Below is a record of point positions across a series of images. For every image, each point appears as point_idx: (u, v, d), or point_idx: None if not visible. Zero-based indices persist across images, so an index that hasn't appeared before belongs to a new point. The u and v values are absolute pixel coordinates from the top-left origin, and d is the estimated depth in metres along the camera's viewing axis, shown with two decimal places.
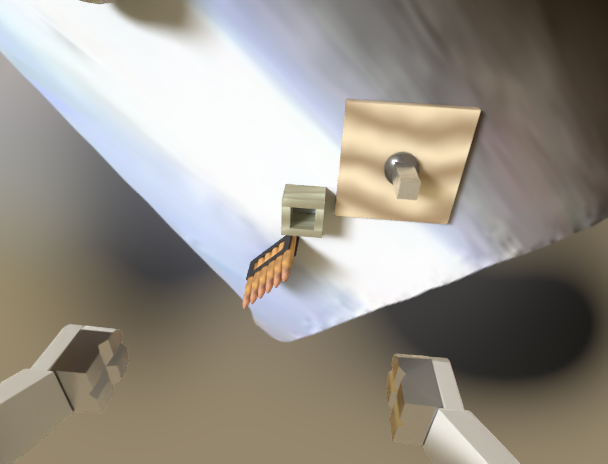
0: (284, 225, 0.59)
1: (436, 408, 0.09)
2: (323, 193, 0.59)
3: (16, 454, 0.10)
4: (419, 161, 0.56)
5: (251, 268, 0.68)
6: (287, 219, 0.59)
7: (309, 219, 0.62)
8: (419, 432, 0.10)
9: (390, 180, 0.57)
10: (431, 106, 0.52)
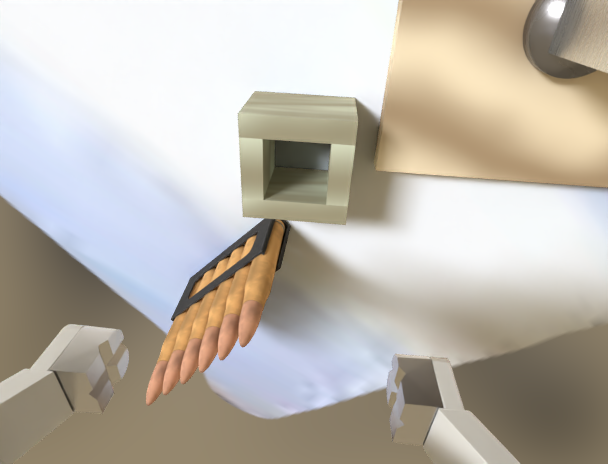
0: (249, 192, 0.23)
1: (436, 408, 0.09)
2: (351, 107, 0.22)
3: (16, 454, 0.10)
4: None
5: (186, 293, 0.31)
6: (256, 173, 0.22)
7: (313, 180, 0.26)
8: (419, 432, 0.10)
9: (542, 61, 0.20)
10: None
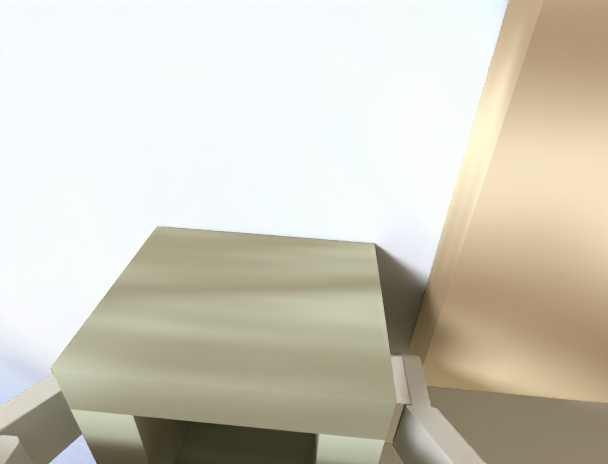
0: None
1: (403, 405, 0.09)
2: (369, 296, 0.09)
3: (48, 457, 0.10)
4: None
5: None
6: None
7: None
8: None
9: None
10: None
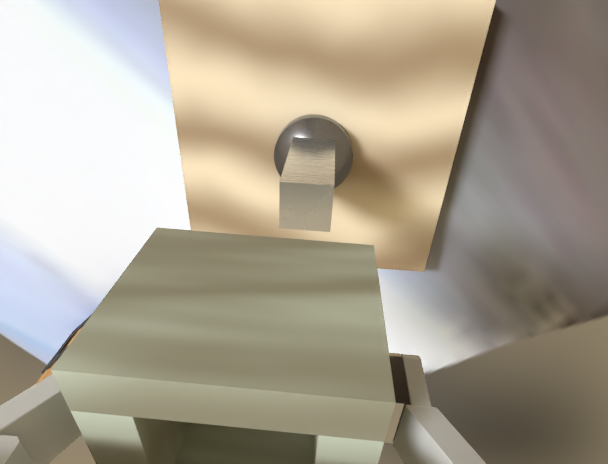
0: None
1: (403, 405, 0.09)
2: (368, 297, 0.09)
3: (48, 457, 0.10)
4: (353, 137, 0.24)
5: (61, 348, 0.36)
6: None
7: None
8: (388, 429, 0.10)
9: None
10: None
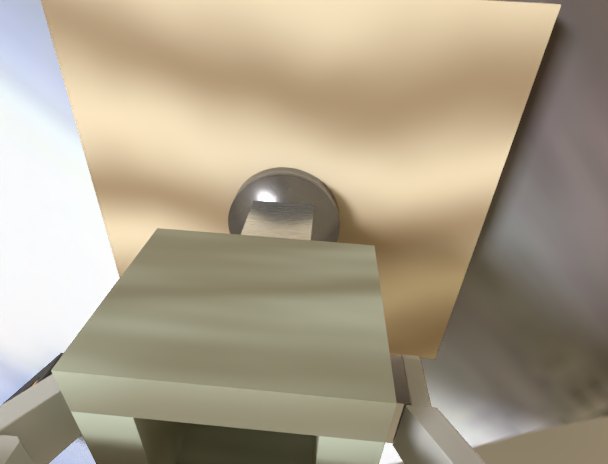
0: None
1: (403, 405, 0.09)
2: (369, 297, 0.09)
3: (48, 457, 0.10)
4: (340, 198, 0.17)
5: None
6: None
7: None
8: None
9: None
10: None
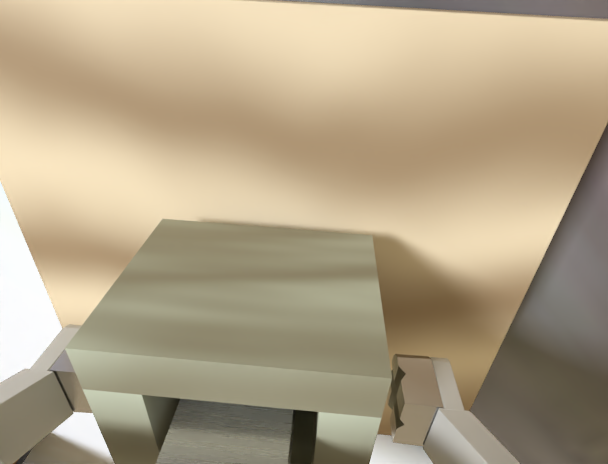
0: None
1: (436, 408, 0.09)
2: (366, 283, 0.10)
3: (16, 454, 0.10)
4: None
5: None
6: (142, 445, 0.09)
7: None
8: (419, 432, 0.10)
9: None
10: (374, 8, 0.10)
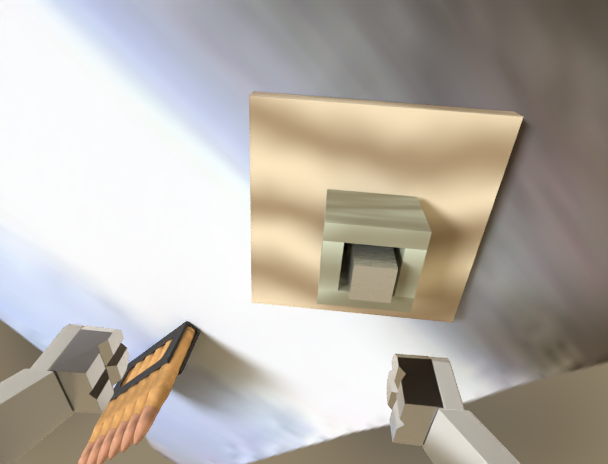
0: (325, 283, 0.25)
1: (436, 408, 0.09)
2: (418, 210, 0.25)
3: (16, 454, 0.10)
4: None
5: (120, 381, 0.40)
6: (334, 269, 0.25)
7: None
8: (419, 432, 0.10)
9: (345, 248, 0.30)
10: (421, 108, 0.25)
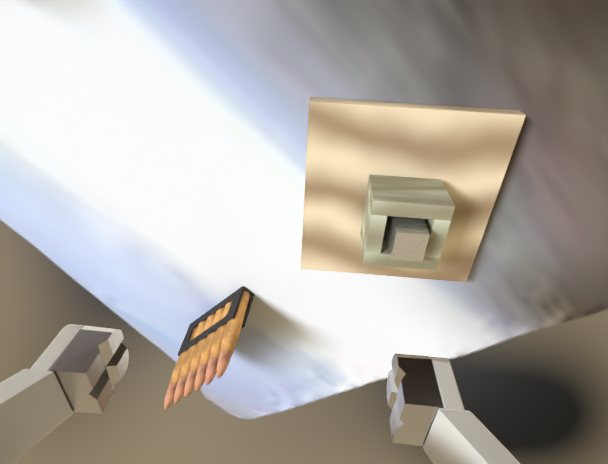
0: (371, 248, 0.33)
1: (436, 408, 0.09)
2: (443, 190, 0.32)
3: (16, 454, 0.10)
4: None
5: (187, 337, 0.48)
6: (378, 237, 0.32)
7: None
8: (419, 432, 0.10)
9: None
10: (445, 109, 0.32)
